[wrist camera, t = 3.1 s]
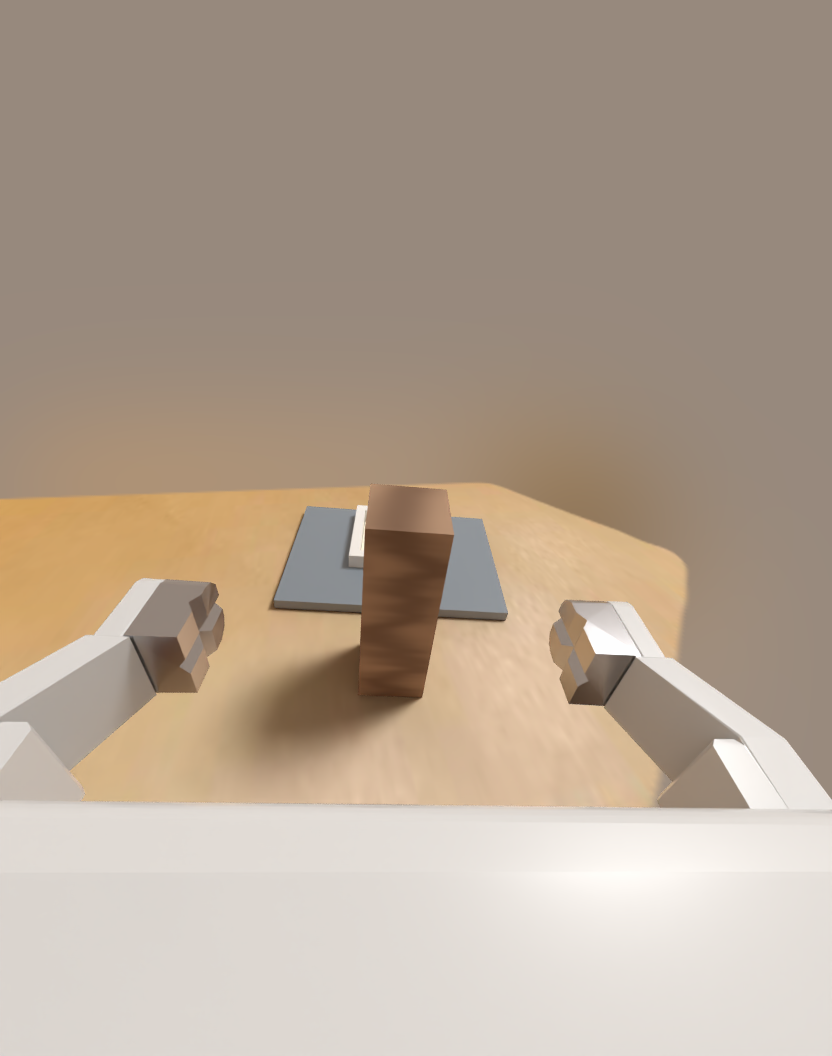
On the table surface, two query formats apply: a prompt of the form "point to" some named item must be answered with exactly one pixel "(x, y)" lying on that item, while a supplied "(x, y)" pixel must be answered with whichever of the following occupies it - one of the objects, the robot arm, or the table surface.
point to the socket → (358, 538)
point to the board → (332, 585)
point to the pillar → (402, 586)
